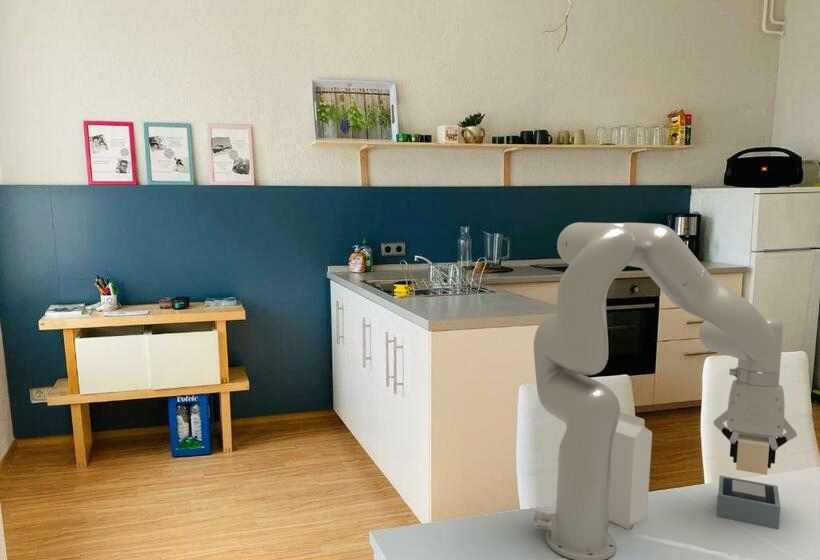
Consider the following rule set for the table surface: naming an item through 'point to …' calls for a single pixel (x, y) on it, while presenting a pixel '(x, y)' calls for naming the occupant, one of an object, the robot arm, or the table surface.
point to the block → (748, 491)
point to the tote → (748, 505)
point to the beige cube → (752, 453)
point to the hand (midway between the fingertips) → (751, 462)
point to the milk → (630, 471)
